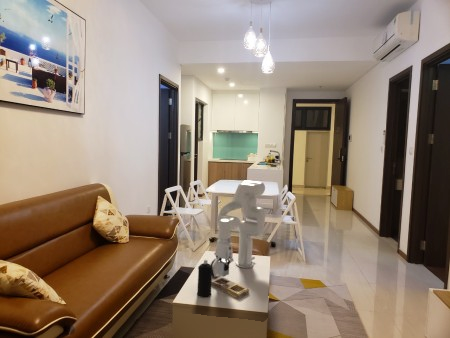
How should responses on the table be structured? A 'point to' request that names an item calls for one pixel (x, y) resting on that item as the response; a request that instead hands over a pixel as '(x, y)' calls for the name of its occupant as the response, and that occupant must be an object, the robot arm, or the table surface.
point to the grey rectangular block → (222, 268)
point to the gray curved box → (214, 268)
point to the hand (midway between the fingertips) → (223, 268)
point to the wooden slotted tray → (230, 287)
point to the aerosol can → (204, 280)
